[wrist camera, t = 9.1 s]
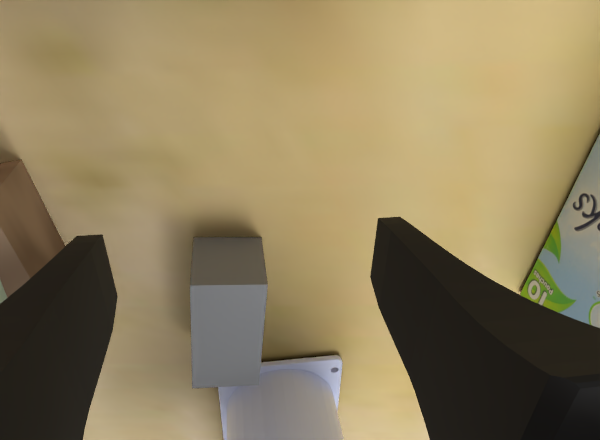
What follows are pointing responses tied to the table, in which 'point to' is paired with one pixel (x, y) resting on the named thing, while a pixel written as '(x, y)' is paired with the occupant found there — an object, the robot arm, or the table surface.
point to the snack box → (573, 252)
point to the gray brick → (227, 310)
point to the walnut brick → (23, 228)
